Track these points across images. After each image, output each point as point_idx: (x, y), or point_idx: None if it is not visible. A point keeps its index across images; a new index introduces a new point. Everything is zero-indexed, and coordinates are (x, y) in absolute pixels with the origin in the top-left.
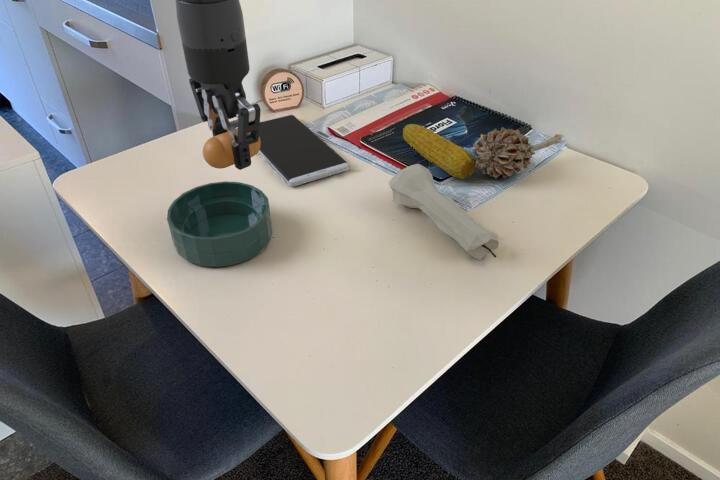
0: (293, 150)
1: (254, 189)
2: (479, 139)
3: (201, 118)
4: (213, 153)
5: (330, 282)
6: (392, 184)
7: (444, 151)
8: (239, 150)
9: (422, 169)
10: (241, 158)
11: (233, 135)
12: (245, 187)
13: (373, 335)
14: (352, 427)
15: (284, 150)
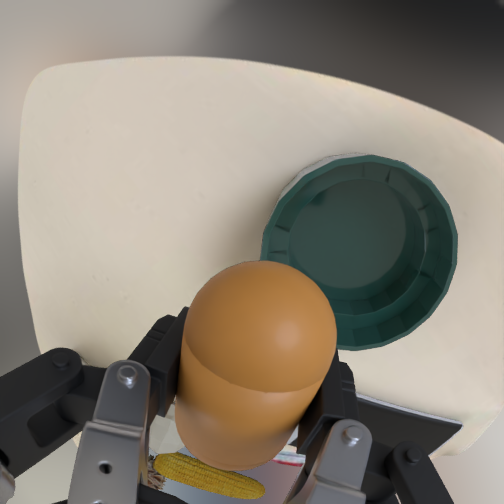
0: (372, 435)
1: (343, 344)
2: (160, 487)
3: (417, 451)
4: (217, 295)
5: (142, 245)
6: (170, 423)
7: (183, 474)
8: (134, 357)
9: (149, 447)
10: (146, 335)
11: (99, 401)
12: (366, 342)
13: (62, 202)
14: (29, 106)
15: (384, 430)
